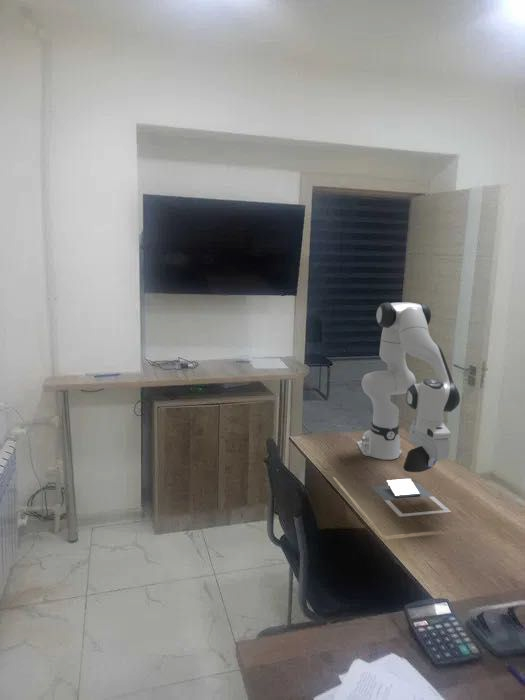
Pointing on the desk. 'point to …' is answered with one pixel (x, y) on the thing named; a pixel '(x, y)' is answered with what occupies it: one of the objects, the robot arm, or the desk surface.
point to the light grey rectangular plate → (402, 488)
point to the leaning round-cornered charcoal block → (417, 460)
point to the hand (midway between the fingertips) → (425, 462)
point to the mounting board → (387, 496)
